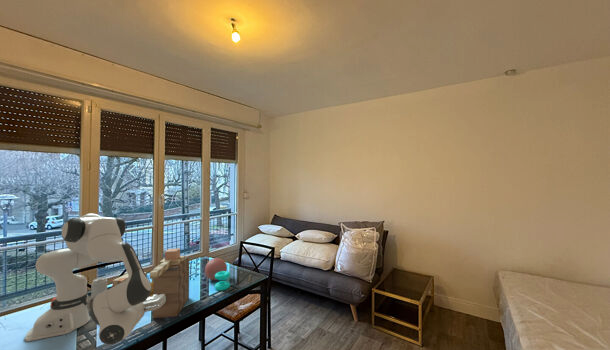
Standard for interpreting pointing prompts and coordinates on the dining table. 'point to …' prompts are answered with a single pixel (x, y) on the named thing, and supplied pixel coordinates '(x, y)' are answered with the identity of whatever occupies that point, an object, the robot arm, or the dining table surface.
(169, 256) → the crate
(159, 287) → the paper bag
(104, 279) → the light grey block
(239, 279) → the dining table surface
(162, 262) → the pallet
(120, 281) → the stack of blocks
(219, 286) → the donuts
